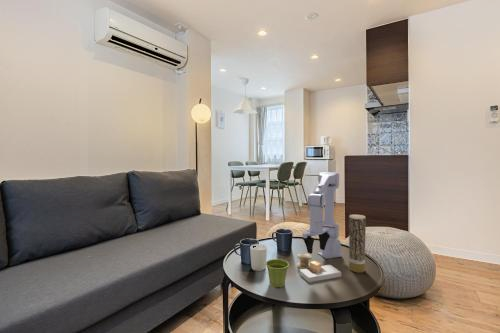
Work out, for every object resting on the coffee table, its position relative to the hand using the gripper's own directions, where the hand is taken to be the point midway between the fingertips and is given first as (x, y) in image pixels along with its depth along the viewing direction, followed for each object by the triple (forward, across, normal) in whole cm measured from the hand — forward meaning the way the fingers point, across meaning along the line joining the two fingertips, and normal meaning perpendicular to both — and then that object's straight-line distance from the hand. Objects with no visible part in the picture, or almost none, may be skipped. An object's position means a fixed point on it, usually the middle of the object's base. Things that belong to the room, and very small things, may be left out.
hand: (316, 251), depth 114 cm
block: (+10, 0, 0) cm, 10 cm away
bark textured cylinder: (+11, -19, +7) cm, 23 cm away
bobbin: (+10, -1, -8) cm, 13 cm away
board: (+10, -1, +2) cm, 11 cm away
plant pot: (+11, +20, -2) cm, 23 cm away
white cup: (+11, +18, -19) cm, 28 cm away
